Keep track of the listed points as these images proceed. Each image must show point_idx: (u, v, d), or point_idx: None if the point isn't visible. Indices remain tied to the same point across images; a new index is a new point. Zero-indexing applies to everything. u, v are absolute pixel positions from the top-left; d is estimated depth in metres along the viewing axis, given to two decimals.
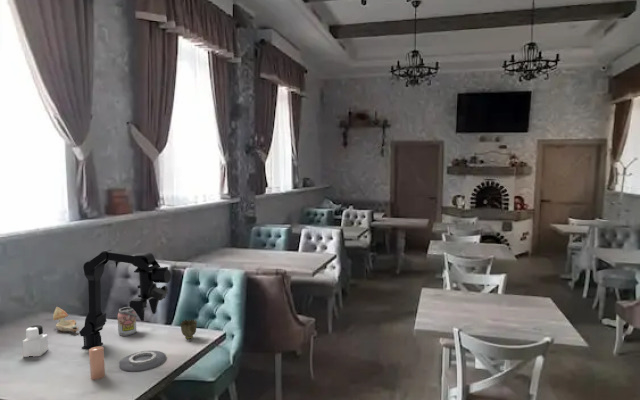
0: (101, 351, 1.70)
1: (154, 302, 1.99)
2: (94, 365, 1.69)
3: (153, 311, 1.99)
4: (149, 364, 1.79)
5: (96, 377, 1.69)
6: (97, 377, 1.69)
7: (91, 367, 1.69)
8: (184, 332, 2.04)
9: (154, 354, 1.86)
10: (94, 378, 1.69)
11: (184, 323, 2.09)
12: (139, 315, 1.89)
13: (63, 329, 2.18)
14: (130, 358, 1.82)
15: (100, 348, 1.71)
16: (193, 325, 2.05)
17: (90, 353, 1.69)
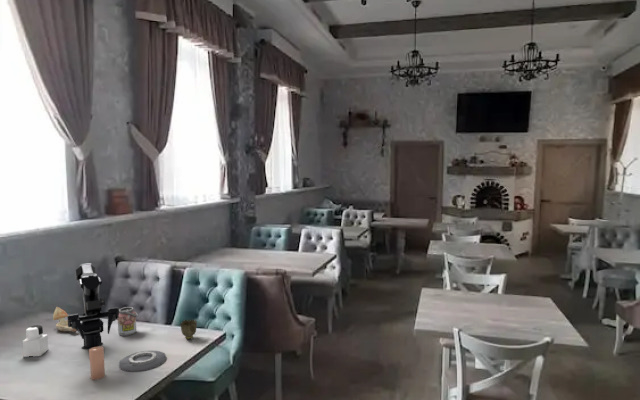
0: (101, 351, 1.70)
1: (108, 322, 1.83)
2: (94, 365, 1.69)
3: None
4: (149, 364, 1.79)
5: (96, 377, 1.69)
6: (97, 377, 1.69)
7: (91, 367, 1.69)
8: (184, 332, 2.04)
9: (154, 354, 1.86)
10: (94, 378, 1.69)
11: (184, 323, 2.09)
12: (79, 333, 1.77)
13: (63, 329, 2.18)
14: (130, 358, 1.82)
15: (100, 348, 1.71)
16: (193, 325, 2.05)
17: (90, 353, 1.69)
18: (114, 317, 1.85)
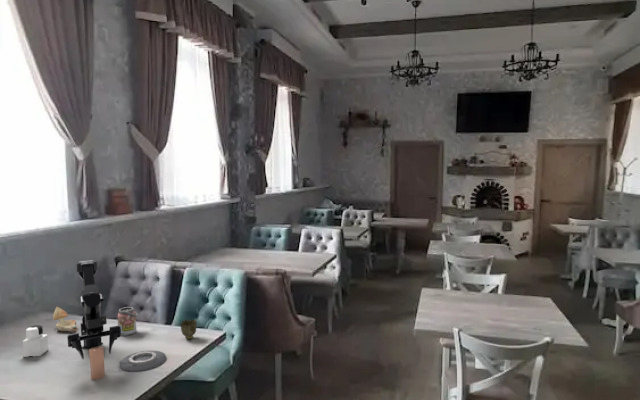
0: (101, 351, 1.70)
1: None
2: (94, 365, 1.69)
3: None
4: (149, 364, 1.79)
5: (96, 377, 1.69)
6: (97, 377, 1.69)
7: (91, 367, 1.69)
8: (184, 332, 2.04)
9: (154, 354, 1.86)
10: (94, 378, 1.69)
11: (184, 323, 2.09)
12: (79, 353, 1.70)
13: (63, 329, 2.18)
14: (130, 358, 1.82)
15: (100, 348, 1.71)
16: (193, 325, 2.05)
17: (90, 353, 1.69)
18: (116, 336, 1.78)
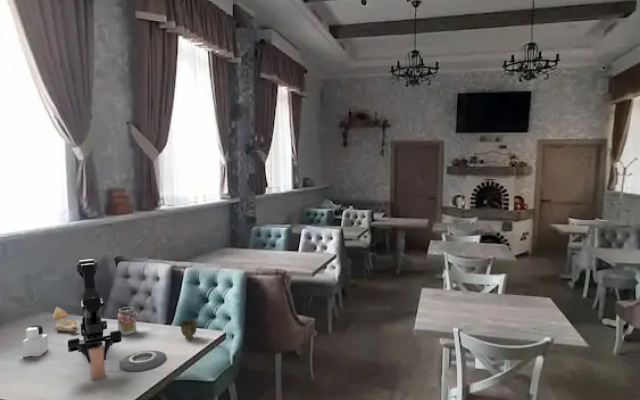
0: (101, 351, 1.70)
1: None
2: (94, 365, 1.69)
3: (104, 357, 1.72)
4: (149, 364, 1.79)
5: (96, 377, 1.69)
6: (97, 377, 1.69)
7: (91, 367, 1.69)
8: (184, 332, 2.04)
9: (154, 354, 1.86)
10: (94, 378, 1.69)
11: (184, 323, 2.09)
12: (86, 357, 1.70)
13: (63, 329, 2.18)
14: (130, 358, 1.82)
15: (100, 348, 1.71)
16: (193, 325, 2.05)
17: (90, 353, 1.69)
18: (111, 342, 1.76)
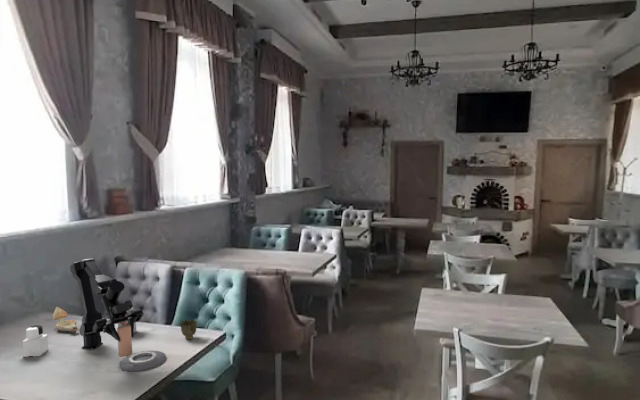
0: (130, 328, 1.77)
1: None
2: (124, 342, 1.75)
3: (131, 334, 1.78)
4: (149, 364, 1.79)
5: (126, 354, 1.75)
6: (127, 354, 1.76)
7: (121, 345, 1.75)
8: (184, 332, 2.04)
9: (154, 354, 1.86)
10: (124, 355, 1.75)
11: (184, 323, 2.09)
12: (114, 336, 1.75)
13: (63, 329, 2.18)
14: (130, 358, 1.82)
15: (128, 326, 1.77)
16: (193, 325, 2.05)
17: (120, 331, 1.74)
18: (134, 320, 1.83)
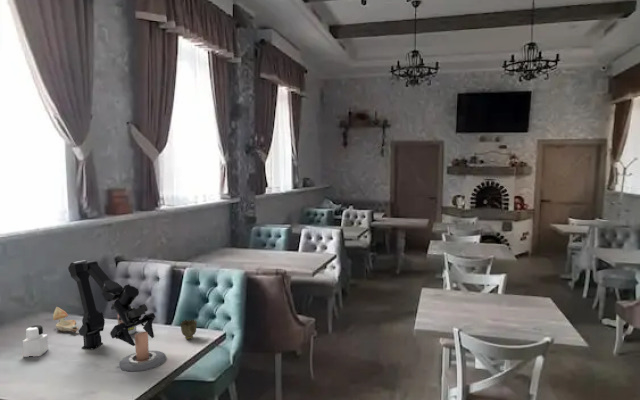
0: (147, 334, 1.83)
1: (148, 327, 1.88)
2: (143, 348, 1.81)
3: (151, 335, 1.87)
4: (149, 364, 1.79)
5: (145, 359, 1.82)
6: (146, 359, 1.82)
7: (139, 351, 1.81)
8: (184, 332, 2.04)
9: (154, 354, 1.86)
10: (143, 360, 1.82)
11: (184, 323, 2.09)
12: (128, 341, 1.79)
13: (63, 329, 2.18)
14: (130, 358, 1.82)
15: (144, 332, 1.84)
16: (193, 325, 2.05)
17: (139, 338, 1.81)
18: None
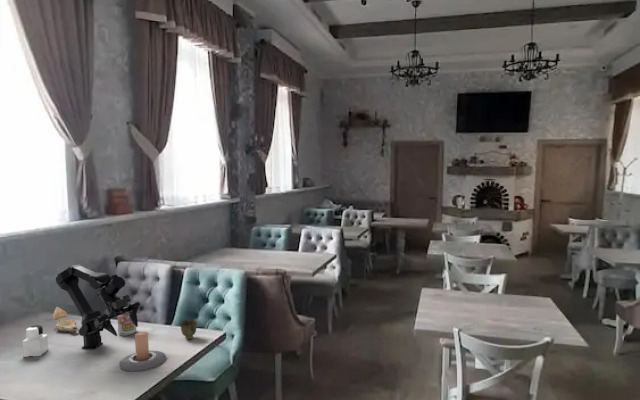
0: (147, 334, 1.84)
1: (133, 316, 1.93)
2: (143, 348, 1.81)
3: (135, 324, 1.91)
4: (149, 364, 1.79)
5: (145, 359, 1.82)
6: (146, 359, 1.82)
7: (139, 351, 1.81)
8: (184, 332, 2.04)
9: (154, 354, 1.86)
10: (143, 360, 1.82)
11: (184, 323, 2.09)
12: (111, 331, 1.85)
13: (63, 329, 2.18)
14: (130, 358, 1.82)
15: (144, 332, 1.84)
16: (193, 325, 2.05)
17: (139, 338, 1.81)
18: (136, 310, 1.95)
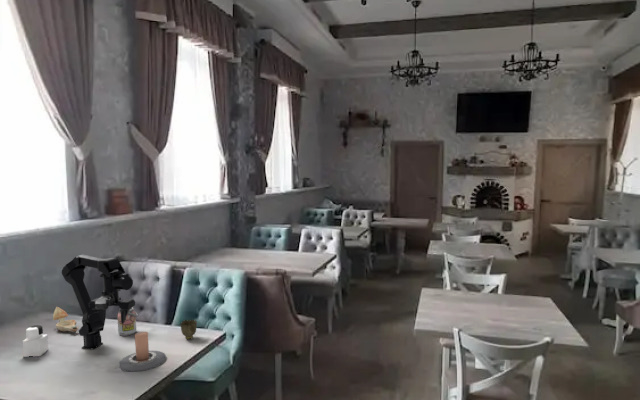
0: (147, 335, 1.83)
1: None
2: (143, 348, 1.81)
3: None
4: (149, 364, 1.79)
5: (145, 359, 1.82)
6: (146, 359, 1.82)
7: (140, 351, 1.81)
8: (184, 332, 2.04)
9: (154, 354, 1.86)
10: (143, 360, 1.82)
11: (184, 323, 2.09)
12: None
13: (63, 329, 2.18)
14: (130, 358, 1.82)
15: (144, 332, 1.84)
16: (193, 325, 2.05)
17: (139, 338, 1.81)
18: None
